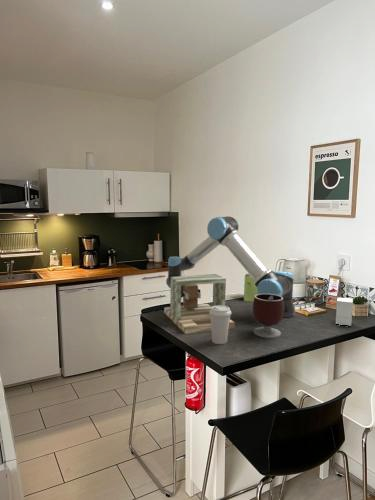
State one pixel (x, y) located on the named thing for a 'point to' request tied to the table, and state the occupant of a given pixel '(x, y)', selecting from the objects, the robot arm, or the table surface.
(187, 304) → the walnut block
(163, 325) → the table surface
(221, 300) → the tunnel
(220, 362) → the table surface
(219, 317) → the coffee cup
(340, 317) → the supplement box
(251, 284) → the protein box
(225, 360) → the table surface
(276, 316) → the mate gourd
